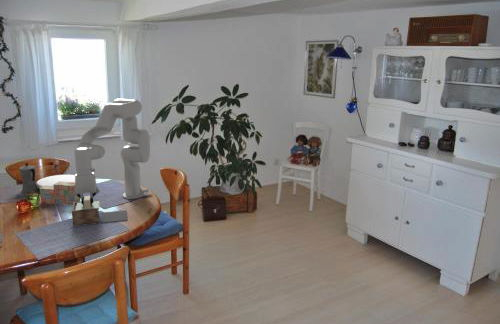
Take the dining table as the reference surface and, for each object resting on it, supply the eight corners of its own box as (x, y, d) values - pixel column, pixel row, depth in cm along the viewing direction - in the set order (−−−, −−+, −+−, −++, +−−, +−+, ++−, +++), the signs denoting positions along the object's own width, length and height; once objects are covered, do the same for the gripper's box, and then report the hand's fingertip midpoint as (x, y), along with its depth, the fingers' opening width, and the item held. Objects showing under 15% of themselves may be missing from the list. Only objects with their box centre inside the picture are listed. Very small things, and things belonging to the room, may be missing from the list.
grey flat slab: (126, 210, 231) (126, 210, 231) (127, 220, 218) (127, 219, 218) (101, 213, 227) (101, 212, 227) (101, 223, 214) (101, 222, 214)
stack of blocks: (41, 203, 241) (38, 183, 238) (47, 199, 247) (45, 180, 244) (75, 205, 238) (72, 185, 235) (80, 202, 244) (78, 182, 241)
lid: (99, 202, 224) (98, 193, 222) (98, 209, 214) (98, 200, 213) (77, 204, 220) (76, 195, 219) (75, 212, 211) (74, 202, 209)
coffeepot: (17, 190, 263) (13, 162, 258) (32, 186, 270) (29, 159, 266) (29, 195, 254) (25, 167, 249) (44, 191, 261) (41, 163, 257)
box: (98, 214, 226) (97, 200, 224) (98, 223, 214) (96, 208, 212) (75, 216, 223) (73, 202, 221) (73, 226, 211) (71, 211, 209)
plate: (67, 171, 288) (91, 177, 275) (67, 180, 290) (91, 187, 276) (27, 176, 265) (52, 184, 251) (27, 186, 266) (52, 194, 252)
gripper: (101, 168, 218) (104, 201, 223) (67, 170, 213) (71, 204, 218) (101, 172, 211) (104, 205, 216) (66, 174, 206) (70, 209, 211)
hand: (87, 204), depth 217 cm, fingers closed on lid, 3 cm apart
